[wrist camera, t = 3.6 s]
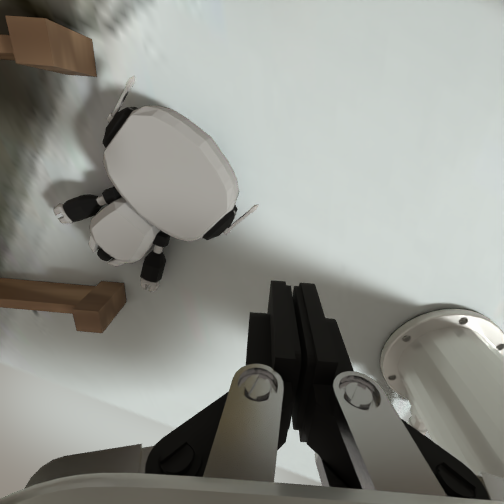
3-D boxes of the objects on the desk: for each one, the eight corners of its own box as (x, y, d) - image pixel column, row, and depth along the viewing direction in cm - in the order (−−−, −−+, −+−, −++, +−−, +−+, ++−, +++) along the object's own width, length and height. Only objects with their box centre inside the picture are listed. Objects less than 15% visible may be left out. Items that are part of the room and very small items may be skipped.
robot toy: (164, 282, 31) (267, 189, 26) (147, 309, 27) (263, 205, 22) (66, 200, 28) (158, 72, 22) (30, 217, 24) (130, 66, 18)
